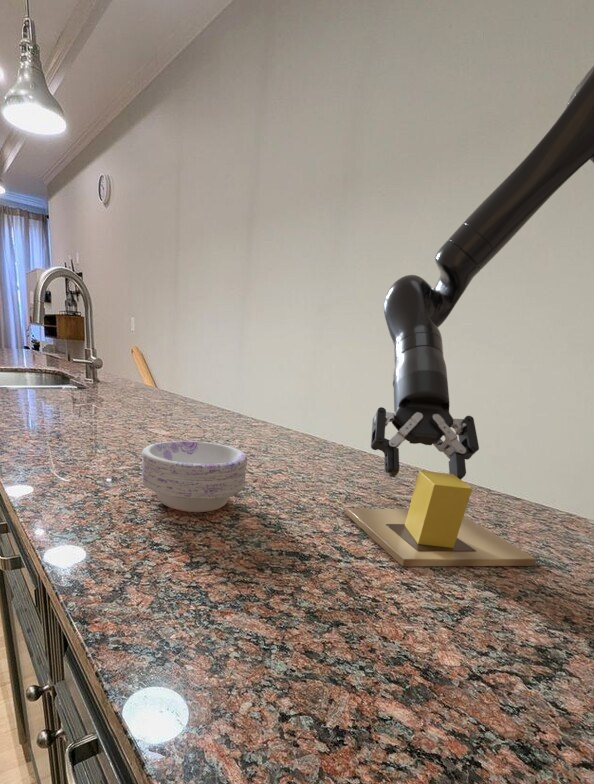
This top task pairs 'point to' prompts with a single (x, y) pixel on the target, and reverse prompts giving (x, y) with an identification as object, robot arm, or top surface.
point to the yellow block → (437, 508)
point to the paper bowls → (193, 474)
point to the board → (468, 550)
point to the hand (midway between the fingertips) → (425, 477)
